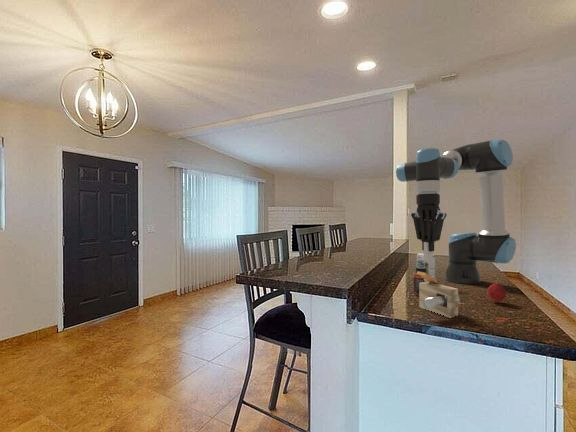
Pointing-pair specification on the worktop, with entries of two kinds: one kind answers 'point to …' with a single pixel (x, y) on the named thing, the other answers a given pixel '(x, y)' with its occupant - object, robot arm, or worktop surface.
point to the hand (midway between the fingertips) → (428, 260)
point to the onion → (496, 292)
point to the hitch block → (437, 290)
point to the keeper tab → (427, 277)
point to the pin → (436, 301)
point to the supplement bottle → (418, 279)
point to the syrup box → (426, 264)
